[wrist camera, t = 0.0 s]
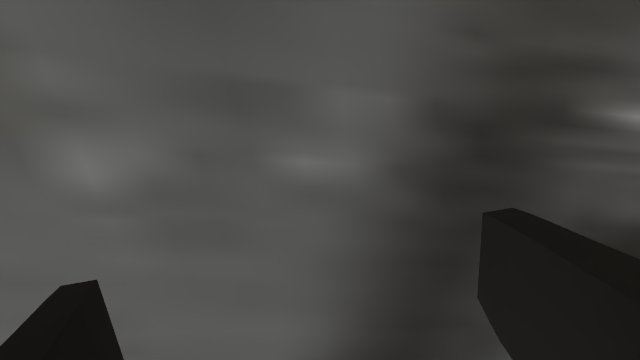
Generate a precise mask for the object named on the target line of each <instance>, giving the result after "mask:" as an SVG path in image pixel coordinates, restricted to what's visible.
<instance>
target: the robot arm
mask: <svg viewBox="0 0 640 360" xmlns="http://www.w3.org/2000/svg"><path fill="white" fill-rule="evenodd" d="M477 298H478V300H479V302H480V304H481V305H482V307H483V309H484V311H485V313H486V315H487V317H488V319H489V321H490V323H491V325H492V327H493V329H494V331H495V332H496V334H497V336H498V338H499V340H500V342H501V343H502V345H503V346H504V348H505V349H506V350H507V352H508V353H509V355H510V356H511V358H512V359H513V360H640V259H637V258H635V257H632V256H630V255H627V254H625V253H622V252H620V251H617V250H615V249H613V248H610V247H608V246H605V245H603V244H601V243H598V242H596V241H594V240H591V239H589V238H586V237H584V236H582V235H579V234H577V233H575V232H572V231H570V230H568V229H565V228H563V227H561V226H558V225H556V224H554V223H551V222H549V221H547V220H544V219H542V218H539V217H537V216H534V215H532V214H529V213H526V212H524V211H521V210H518V209H515V208H509V209H503V210H497V211H491V212H485V213H483V220H482V235H481V251H480V266H479V282H478V297H477ZM0 360H124V359H123V356H122V353H121V350H120V347H119V344H118V341H117V338H116V335H115V332H114V329H113V326H112V323H111V320H110V317H109V314H108V311H107V308H106V305H105V302H104V299H103V296H102V293H101V290H100V287H99V284H98V281H97V280H93V281H87V282H81V283H75V284H70V285H64V286H60V287H59V288H58V289H57V290H56V291H55V292H54V293H53V294H52V295H51V296H50V297H49V298H47V299H46V300H45V301H44V302H43V303H42V304H41V305H40V306H39V308H38V309H37V310H36V311H35V312H34V313H33V314H32V315H31V316H30V317H29V318H28V319H27V320H26V321H25V322H24V323H23V324H22V325H21V326H20V327H19V328H18V329H17V330H16V331H15V332H14V333H13V334H12V335H11V336H10V337H9V338H8V339H7V340H6V341H5V342H4V343H3V344H2V345H1V346H0Z"/></svg>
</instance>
